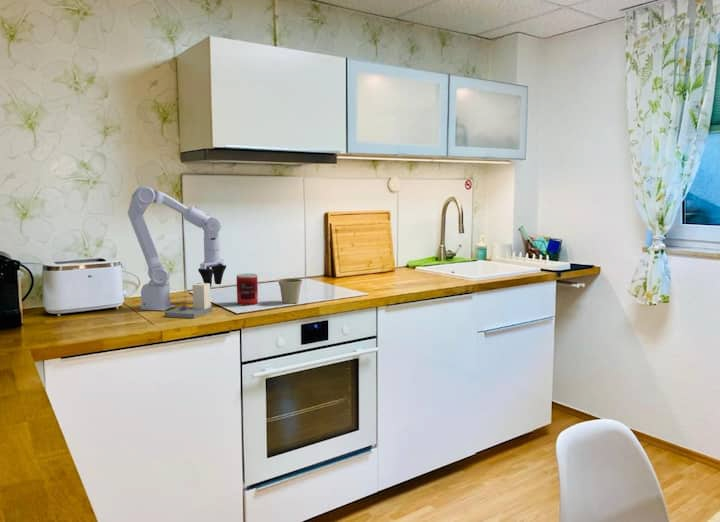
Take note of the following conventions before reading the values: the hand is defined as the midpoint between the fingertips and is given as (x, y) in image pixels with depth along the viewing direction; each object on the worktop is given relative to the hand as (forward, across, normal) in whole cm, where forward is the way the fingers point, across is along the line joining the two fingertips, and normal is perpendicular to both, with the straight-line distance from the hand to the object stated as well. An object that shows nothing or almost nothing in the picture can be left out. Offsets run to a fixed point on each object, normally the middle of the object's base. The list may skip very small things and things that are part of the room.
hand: (213, 285), depth 209 cm
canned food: (+7, +4, -12) cm, 15 cm away
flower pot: (+7, +10, -27) cm, 30 cm away
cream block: (+7, -9, 0) cm, 11 cm away
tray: (+7, -17, 0) cm, 19 cm away
